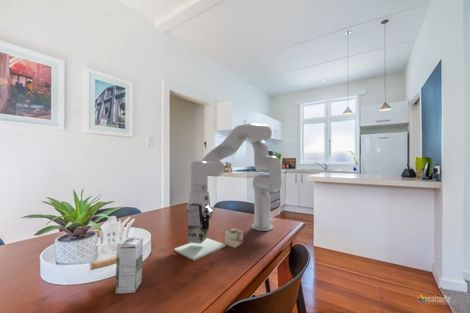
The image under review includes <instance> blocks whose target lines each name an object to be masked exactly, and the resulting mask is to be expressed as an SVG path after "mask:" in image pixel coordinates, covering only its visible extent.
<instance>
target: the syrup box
mask: <svg viewBox="0 0 470 313" xmlns="http://www.w3.org/2000/svg"><path fill="white" fill-rule="evenodd" d="M143 253H144V238H143V237H125V238H124V239H123V240H121V241H120V243H118V244H117V245H116V260H115V261H116V263H115V264H116V265H115V266H116V267H115V269H116V270H115V289H114V290H115V292H114V293H115V294H119V295H120V294H130V293H131V294H134V293H136V291H137V290H138V288H139V287H140V285H141V284H142V282H143V261H144V260H143V258H144V257H143V256H144V255H143Z"/></svg>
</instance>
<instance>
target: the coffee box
mask: <svg viewBox="0 0 470 313" xmlns="http://www.w3.org/2000/svg"><path fill="white" fill-rule="evenodd" d="M204 213H205V211H204ZM187 214H188V215H187V216H188V217H187V218H188V222H187V223H188V225H187V226H188V227H187V232H188V234H187V243H199V244H201V243H202V242H203V241H204V240H205V239H206V238H209V234H210V233H209V230H210V228H208V229H206V230H203V229H202V221H203V215H202V206H201V205H196V204H190V205H189V209H188V212H187ZM205 217H206V215H205Z"/></svg>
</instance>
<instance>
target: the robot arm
mask: <svg viewBox="0 0 470 313" xmlns="http://www.w3.org/2000/svg"><path fill="white" fill-rule="evenodd" d="M272 135H273V133H272V129H271V127H270V126H269V125H267V124H260V123H246V124H245V123H244V124H240V125H236V126H234V128H233V129H232V131H230V133H229V134H227V136H226V137H225V139H224V140H223V141H222V142H221V143H220V144H218V145H217V146H216V147H214V148H213V149H211V150H210V151H209V152H208V153H207V154H206V155H205V156H204V157H203V158H202V160H193V161H191V163H190V191H189V199H188V200H189V201H188V204H187V205H186V210H187V213H188V209H189V205H190V204H196V205H201V206H202V215H203V221H202V229H203V230H206V229H208V228H209V227H210V220H211V217H212V216H213V212H214V211H213V210H212V208H211V200H210V193H209V191H208V189H209V188H208V180H209V178H208V177H220V176H222V175H223V174H224V172H225V169H226V167H225V165H224V163H223V162H222V160H223V159H226V158H229V157H231V156H233V155H235V154H236V153H237V151H238V150H239V149H240V147H241V146H242V145H243V143H244V142H245V141H247V142H249V143H250V144H251V146H252V149H253V156H254V157H253V158H254V159H253V161H254V169H255V171H257V172H259V173H260V174H257V175H255V176H253V179H252V187H253V194H254V196H253V197H254V198H253V199H254V200H253V201H254V214H253V216H254V221H253V222H254V223H252V224H251V228H252V229H253V230H255V231H260V232H266V231H267V232H268V231H272V230H273V229H274V225H273V224H272V222H274V218H271V217H272V216H271V207H272V206H271V200H272V199H271V195H270V193H271V192H272V193H273V192H274V193H277V192H279V191H280V190H281V188H282V184H283V183H282V164H281V163H282V162H281V160H280V159H279V157H277V156H275V155H269V154H270V153H269V147H268V144H267V143H266V141H269V140H270V139H271V137H272ZM264 173H265V174H264ZM266 173H268V174H266ZM204 211H205V213H204ZM205 215H206V217H205ZM209 229H210V228H209Z"/></svg>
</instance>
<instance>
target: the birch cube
mask: <svg viewBox="0 0 470 313" xmlns="http://www.w3.org/2000/svg"><path fill="white" fill-rule="evenodd" d="M224 233H225V234H224V235H225V237H224V238H225V240H224V241H225V242H224V244H225V246H229V247H231V248H235V249H236V248H237V247H240V246H241V245H243V244H244V230H239V229H237V228H231V229H229V230H226V231H224Z"/></svg>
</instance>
